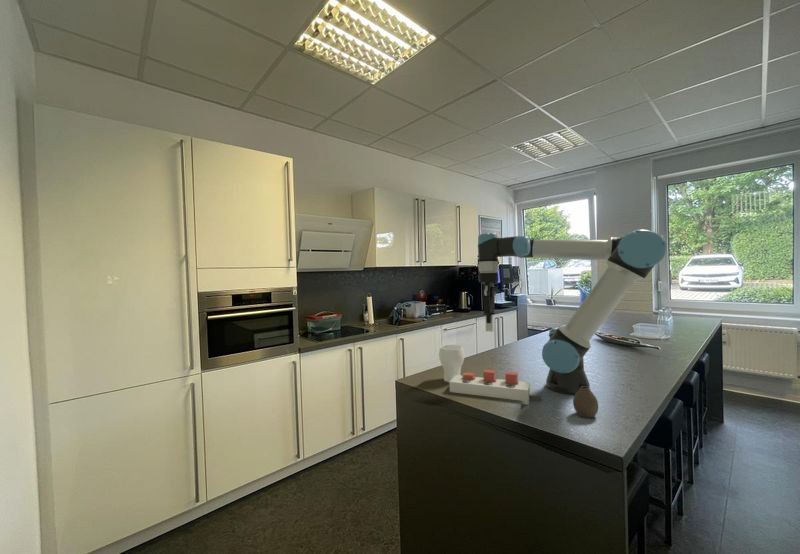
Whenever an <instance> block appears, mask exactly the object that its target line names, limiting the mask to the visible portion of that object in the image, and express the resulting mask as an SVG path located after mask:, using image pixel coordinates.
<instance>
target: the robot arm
mask: <svg viewBox="0 0 800 554" xmlns="http://www.w3.org/2000/svg"><path fill="white" fill-rule="evenodd" d="M666 252H667V246H666V242H665V240H664V238H663V237H662V236H661V235H660V234H659V233H657V232H656V231H652V230H648V229H636V230H632V231H630V232H628V233H627V234H625V235H623V236H617V237H616V236H615V237H613V236H612V237H610V238H609V239H532V238H531V239H530V237H529V236H528V235H517V236H505V237H498V234H497V233H495V232H487V233H486V232H485V233H481V234H479V235H478V238H477V253H478V254H477V256H478V264H477V265H476V266H477V268H478V282H479V283H483V287H482V290H481V293H482V302H483V313H482V314H483V316H485V318H484V319H485V332H494V315H495V314H496V313H495V292H496V289H495V286H494V283H498V282H499V273H498V271H499V260H498V258H501V257H502V258H503V257H504V258H505V257H507V258H509V257H514V258H521V259H524V258H527V259H533V258H534V259H555V260H580V261H582V260H583V261H585V260H586V261H605V262H606V263H607V269H606V270H605V271H604V272H603V274H602V275H601V277H600V278H599V279H598V280H597V282H596V283H595V285H594V286H593V288H592V289H591V290H590V291H589V293H588V294H587V295H586V297H585V298H584V300H583V302H581V304H580V305H579V306H578V307H577V309H576V311H575V312H574V313H573V315H572V316H571V317H570V318H569V320H568V322H567V323H566V325H561V326H558V327H557V328H550V329H549V332H548V338H549V340H548V341H547V342H546V343H544V345H543V347H542V349H541V357H542V361H543V362H544V364H545V365H546V366H547V367H548V368H549V370H548V373H547V376H546V381H545V382H546V383H545V384H546V388H548V389H549V390H552V391H554V392H557V393H561V394H568V395H575V394H576V393H577V392H578V391H579V389H580V387H582V386H586V387H589V388H590V389H591V385H590V381H589V379H588V376H587V374H586V371H585V365H584V364H585V363H584V357H585V355H586V353H588V352H589V350H590V349H591V346H592V344H591V341H590V340H592V337H594V335H595V334H596V332H598V331H599V329H600V328H601V327H602V325H603V324H604V323H605V321H606V320H607V319H608V317H609V315H611V314H612V312H613V311H614V310H615V308H616V307H617V306H618V304H619V303H620V302H621V301H622V299H623V298H624V297H625V295H626V294H627V293H628V291H629V290H630V289H631V287H632V286H633V285H634V284H635V282H637V281H643V280H645V279H646V277H647V276H648V275H649V274H650V273H651V271H652V269H654V267H655V266H656V265H658V263H660V262H661V261H662V260H663V259H664V257H665V256H666ZM479 272H480V273H479Z"/></svg>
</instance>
